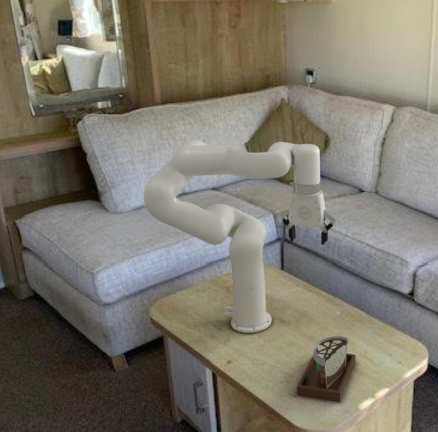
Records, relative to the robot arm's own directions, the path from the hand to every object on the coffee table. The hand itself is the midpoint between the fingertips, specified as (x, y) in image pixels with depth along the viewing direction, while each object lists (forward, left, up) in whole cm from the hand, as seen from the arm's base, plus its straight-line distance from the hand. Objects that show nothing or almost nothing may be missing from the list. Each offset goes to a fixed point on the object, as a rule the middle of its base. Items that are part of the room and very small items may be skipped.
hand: (308, 241), depth 186 cm
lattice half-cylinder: (+13, -26, -28) cm, 40 cm away
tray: (+13, -26, -28) cm, 41 cm away
